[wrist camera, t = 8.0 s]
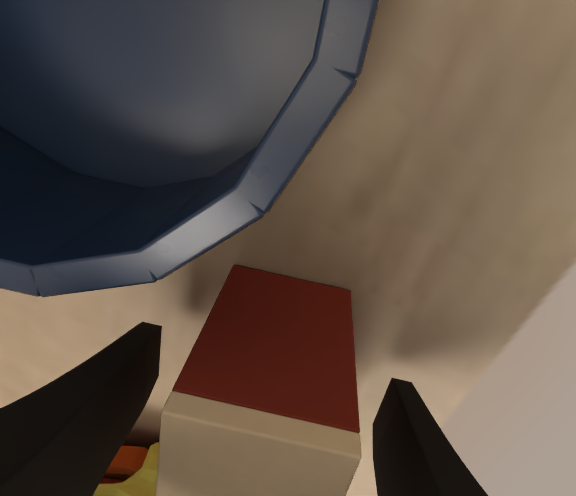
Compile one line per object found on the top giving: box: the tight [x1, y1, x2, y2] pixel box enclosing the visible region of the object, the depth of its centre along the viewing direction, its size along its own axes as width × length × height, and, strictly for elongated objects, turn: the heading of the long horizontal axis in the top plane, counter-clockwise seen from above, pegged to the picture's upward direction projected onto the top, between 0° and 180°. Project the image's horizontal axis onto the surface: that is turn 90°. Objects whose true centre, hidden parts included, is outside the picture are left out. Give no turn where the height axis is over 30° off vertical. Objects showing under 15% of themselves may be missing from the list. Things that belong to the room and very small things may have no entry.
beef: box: [155, 265, 361, 496], centre depth 11 cm, size 5×4×6 cm
